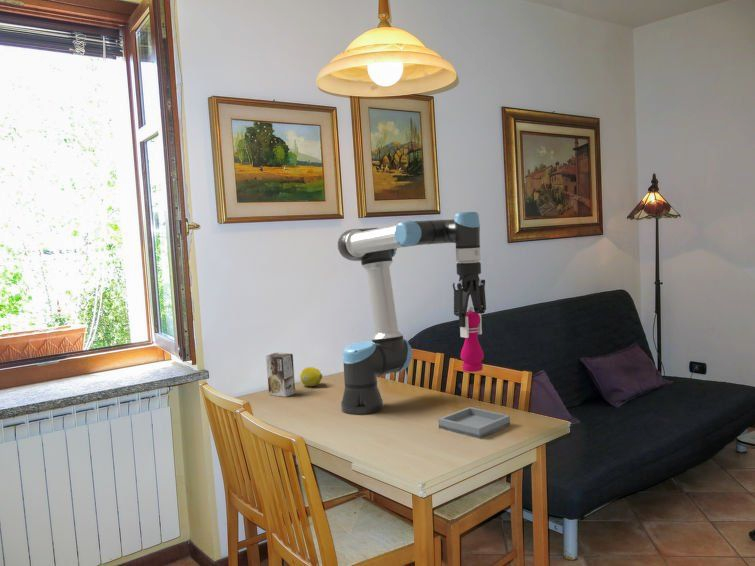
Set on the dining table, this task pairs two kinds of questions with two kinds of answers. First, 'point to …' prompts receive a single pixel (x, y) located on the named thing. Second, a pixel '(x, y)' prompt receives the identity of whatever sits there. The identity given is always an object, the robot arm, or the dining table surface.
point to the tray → (474, 422)
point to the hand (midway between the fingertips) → (471, 335)
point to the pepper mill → (472, 345)
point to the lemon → (310, 376)
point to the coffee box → (280, 374)
